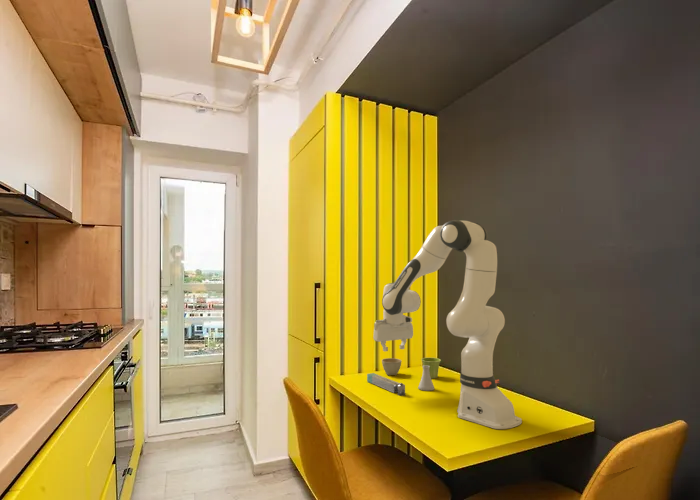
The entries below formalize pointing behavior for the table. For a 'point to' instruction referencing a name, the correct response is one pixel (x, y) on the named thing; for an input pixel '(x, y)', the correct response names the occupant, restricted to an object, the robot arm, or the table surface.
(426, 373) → the flask
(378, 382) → the upper tong arm
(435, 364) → the plant pot
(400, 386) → the tong pivot
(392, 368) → the flower pot
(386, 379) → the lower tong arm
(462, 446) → the table surface
